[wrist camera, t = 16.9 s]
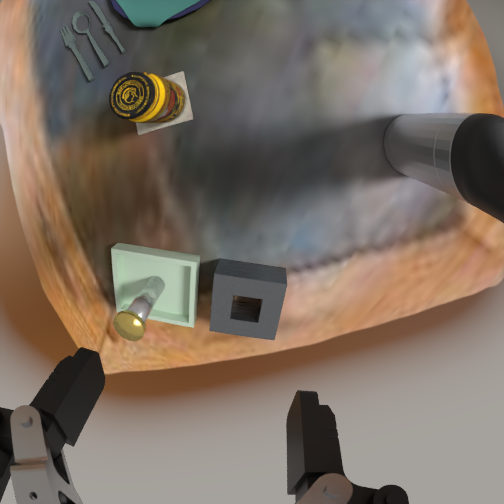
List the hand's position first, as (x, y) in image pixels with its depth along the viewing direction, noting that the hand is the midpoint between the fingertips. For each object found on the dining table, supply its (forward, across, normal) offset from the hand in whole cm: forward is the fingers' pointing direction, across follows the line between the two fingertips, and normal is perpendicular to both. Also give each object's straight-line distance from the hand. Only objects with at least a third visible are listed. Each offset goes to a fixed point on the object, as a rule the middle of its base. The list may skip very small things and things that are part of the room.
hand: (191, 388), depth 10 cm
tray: (+33, +13, +16) cm, 39 cm away
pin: (+32, +13, +16) cm, 38 cm away
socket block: (+33, -2, +15) cm, 36 cm away
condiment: (+33, +14, -12) cm, 38 cm away
